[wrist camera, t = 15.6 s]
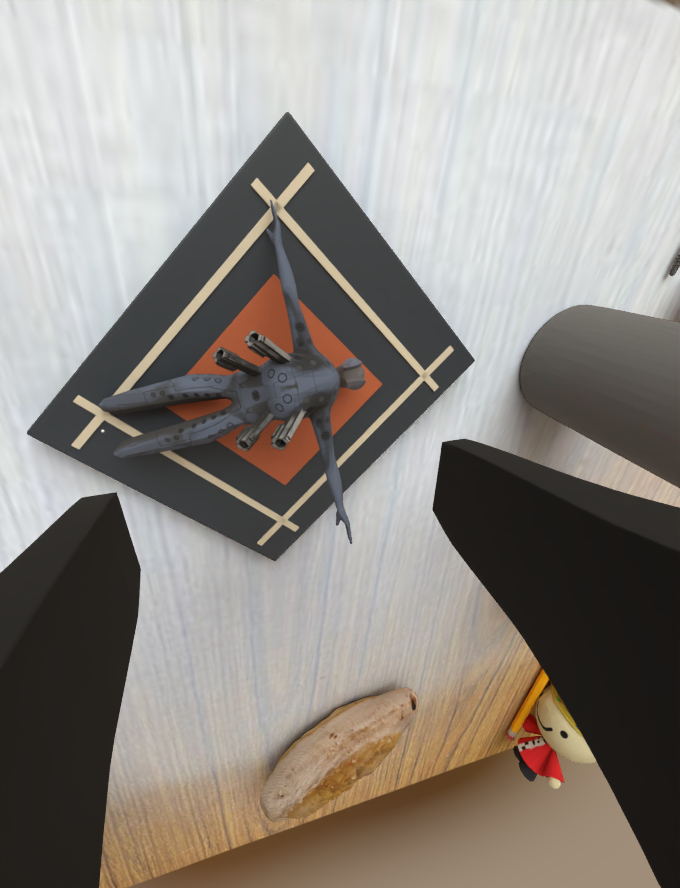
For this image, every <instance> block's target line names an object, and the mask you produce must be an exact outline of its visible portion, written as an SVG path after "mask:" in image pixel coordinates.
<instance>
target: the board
mask: <svg viewBox="0 0 680 888" xmlns="http://www.w3.org/2000/svg"><path fill="white" fill-rule="evenodd" d="M270 200H272V202H273V205H274V208H275V211H276V214H277V218H278V221H279V223H280V228H281V238H282V245H283V249H284V251H285V254H286V256H287V259H288V261H289V264H290V267H291V269H292V272H293V276H294V280H295V284H296V289H297V295H298V300H299V305H300V308H301V310H302V313H303V316H304V319H305V321H306V324H307V327H308V330H309V332H310V335H311V338H312V341H313V343H314V345H315V347H316V349H317V350H318V351H319V352H320V353H322V354H323V355H324V356H325V357H326V358H327V359H328V360H329V361H330V362H331V363H332V364H333V365H334V366H335V368H337V367H338V366H340V365H342V364H343V362H344V361H345V360H346V359H349V358H356V359H358V360H360V361H361V362H362V364H361V366H362V368H363V369H364V371H365V374H364V379H365V380H366V383H365V384H364V386H363V387H361V388H360V389H358V390H351V389H349V388H339V392H338V394H337V397H336V400H335V402H334V404H333V406H332V407H331V414H330V417H331V427H332V437H333V446H334V455H335V459H336V463H337V466H338V469H339V473H340V478H341V483H342V492H344V491H345V490H346V489H347V488H348V487H349V486H350V485H351V484H352V483H353V482H354V481H355V480H356V479H357V478H358V477H359V476H360V475H361V474H362V473H363V472H364V471H365V470H366V469H367V468H368V467H369V466H370V465H371V464H372V463H373V462H374V461H375V460H376V459H377V458H378V457H379V456H380V455H381V454H382V453H383V452H384V451H385V450H386V449H387V448H388V447H389V446H390V445H391V444H392V443H393V442H394V441H395V440H396V439H397V438H398V437H399V436H400V435H401V434H402V433H403V432H404V431H405V430H406V429H407V428H408V427H409V426H410V425H411V424H412V423H413V422H414V421H415V420H416V419H417V418H418V417H419V416H420V415H421V414H422V413H423V412H424V411H425V410H426V409H427V408H428V407H429V406H430V405H431V404H432V403H433V402H434V401H435V400H436V399H437V398H438V397H439V396H440V395H441V394H442V393H443V392H444V391H445V390H446V389H447V388H448V387H449V386H450V385H451V384H452V383H453V382H454V381H455V380H456V379H457V378H458V377H459V376H460V375H461V374H462V373H463V372H464V371H465V370H466V369H467V368H468V367H469V366H470V365H471V364H472V363H473V362H474V361H475V360H474V358H473V357H472V356H471V354H470V353H469V352H468V350H467V349H466V348H465V346H464V345H463V344H462V342H461V341H460V340H459V338H458V337H457V336H456V334H455V333H454V332H453V330H452V329H451V328H450V326H449V325H448V324H447V322H446V321H445V320H444V318H443V317H442V316H441V314H440V313H439V312H438V310H437V309H436V308H435V306H434V305H433V304H432V302H431V301H430V300H429V298H428V297H427V296H426V294H425V293H424V292H423V290H422V289H421V288H420V286H419V285H418V284H417V282H416V281H415V280H414V278H413V277H412V276H411V274H410V273H409V272H408V270H407V269H406V268H405V266H404V265H403V264H402V262H401V261H400V260H399V258H398V257H397V256H396V254H395V253H394V252H393V250H392V249H391V248H390V246H389V245H388V244H387V242H386V241H385V240H384V238H383V237H382V236H381V234H380V233H379V232H378V230H377V229H376V228H375V226H374V225H373V224H372V222H371V221H370V220H369V218H368V217H367V216H366V214H365V213H364V212H363V210H362V209H361V208H360V206H359V205H358V204H357V202H356V201H355V200H354V198H353V197H352V196H351V194H350V193H349V192H348V190H347V189H346V188H345V186H344V185H343V184H342V182H341V181H340V180H339V178H338V177H337V176H336V174H335V173H334V172H333V170H332V169H331V168H330V166H329V165H328V164H327V162H326V161H325V160H324V158H323V157H322V156H321V154H320V153H319V152H318V150H317V149H316V148H315V146H314V145H313V144H312V142H311V141H310V140H309V138H308V137H307V136H306V134H305V133H304V132H303V130H302V129H301V128H300V126H299V125H298V124H297V122H296V121H295V120H294V118H293V117H292V116H291V114H290V113H289V112H286V113H285V114H284V116H283V117H282V118H281V119H280V120H279V122H278V123H277V124H276V125H275V127H274V128H273V129H272V130H271V132H270V133H269V134H268V135H267V136H266V138H265V139H264V140H263V141H262V143H261V144H260V145H259V146H258V148H257V149H256V150H255V151H254V153H253V154H252V155H251V156H250V157H249V159H248V160H247V161H246V162H245V164H244V165H243V166H242V167H241V169H240V170H239V171H238V172H237V173H236V175H235V176H234V177H233V178H232V180H231V181H230V182H229V183H228V185H227V186H226V187H225V188H224V190H223V191H222V192H221V193H220V194H219V196H218V197H217V198H216V199H215V201H214V202H213V203H212V204H211V206H210V207H209V208H208V209H207V210H206V212H205V213H204V214H203V215H202V217H201V218H200V219H199V220H198V222H197V223H196V224H195V225H194V227H193V228H192V229H191V230H190V231H189V233H188V234H187V235H186V236H185V238H184V239H183V240H182V241H181V243H180V244H179V245H178V246H177V247H176V249H175V250H174V251H173V252H172V254H171V255H170V256H169V257H168V259H167V260H166V261H165V262H164V264H163V265H162V266H161V267H160V268H159V270H158V271H157V272H156V273H155V275H154V276H153V277H152V278H151V280H150V281H149V282H148V283H147V284H146V286H145V287H144V288H143V289H142V291H141V292H140V293H139V294H138V296H137V297H136V298H135V299H134V300H133V302H132V303H131V304H130V305H129V307H128V308H127V309H126V310H125V312H124V313H123V314H122V315H121V317H120V318H119V319H118V320H117V321H116V323H115V324H114V325H113V326H112V328H111V329H110V330H109V331H108V333H107V334H106V335H105V336H104V337H103V339H102V340H101V341H100V342H99V344H98V345H97V346H96V347H95V349H94V350H93V351H92V352H91V354H90V355H89V356H88V357H87V358H86V360H85V361H84V362H83V363H82V365H81V366H80V367H79V368H78V370H77V371H76V372H75V373H74V374H73V376H72V377H71V378H70V379H69V381H68V382H67V383H66V384H65V386H64V387H63V388H62V389H61V391H60V392H59V393H58V394H57V395H56V397H55V398H54V399H53V400H52V402H51V403H50V404H49V405H48V407H47V408H46V409H45V410H44V411H43V413H42V414H41V415H40V416H39V418H38V419H37V420H36V421H35V423H34V424H33V425H32V426H31V428H30V429H29V430H28V431H27V434H28V435H30V436H32V437H34V438H36V439H38V440H39V441H41V442H43V443H45V444H47V445H49V446H51V447H53V448H55V449H57V450H59V451H61V452H63V453H65V454H67V455H69V456H71V457H73V458H75V459H77V460H79V461H80V462H82V463H84V464H86V465H88V466H90V467H92V468H94V469H96V470H98V471H100V472H102V473H104V474H106V475H108V476H110V477H112V478H114V479H116V480H118V481H119V482H121V483H123V484H125V485H127V486H129V487H131V488H133V489H135V490H137V491H139V492H141V493H143V494H145V495H147V496H149V497H151V498H153V499H155V500H157V501H159V502H160V503H162V504H164V505H166V506H168V507H170V508H172V509H174V510H176V511H178V512H180V513H182V514H184V515H186V516H188V517H190V518H192V519H194V520H196V521H198V522H199V523H201V524H203V525H205V526H207V527H209V528H211V529H213V530H215V531H217V532H219V533H221V534H223V535H225V536H227V537H229V538H231V539H233V540H235V541H237V542H239V543H240V544H242V545H244V546H246V547H248V548H250V549H252V550H254V551H256V552H258V553H260V554H262V555H264V556H266V557H268V558H270V559H272V560H274V561H276V560H277V559H278V558H279V557H280V556H281V555H282V554H283V553H284V552H285V551H286V550H287V549H288V548H289V547H290V546H291V545H292V544H293V543H294V542H295V541H296V540H297V539H298V538H299V537H300V536H301V535H302V534H303V533H304V532H305V531H306V530H307V529H308V528H309V527H310V526H311V525H312V524H313V523H314V522H315V521H316V520H317V519H318V518H319V517H320V516H321V515H322V514H323V513H324V512H325V511H326V510H327V509H328V508H329V507H330V506H331V505H332V504H333V502H334V498H333V495H332V492H331V489H330V486H329V484H328V480H327V477H326V474H325V469H324V464H323V460H322V456H321V452H320V449H319V445H318V442H317V439H316V436H315V432H314V429H313V426H312V424H311V421H310V418H305V419H302V420H301V422H300V424H299V426H298V428H297V430H296V431H295V433H294V435H293V437H292V439H291V441H290V442H289V443H288V444H287V445H286V447H285V449H284V450H283V451H282V450H278V448H276V449H274V448H273V447H272V446H271V443H272V442H271V441H272V439H271V436H272V435H273V433H274V431H275V430H276V428H277V426H278V425H279V424H284V422H285V421H280V420H273V421H272V422H270V423H269V424H268V425H267V427H266V428H265V429H264V430H263V431H262V433H261V434H260V437H259V439H258V440H257V441H256V443H255V444H254V445H253V446H252V447H251V449H250V450H249V451H243V449H239V448H238V447H237V446H236V445H237V443H236V437H237V436H238V435H239V434H240V432H241V431H242V430H243V429H244V428H245V427H246V426H247V425H248V424H246V425H242V426H239V427H238V428H236V429H235V430H233V431H232V432H230V433H228V434H227V435H225V436H223V437H221V438H219V439H216V440H214V441H212V442H210V443H206V444H201V445H196V446H191V447H185V448H180V449H175V450H170V451H164V452H159V453H154V454H149V455H142V456H135V457H128V458H120V457H118V456H115V455H114V449H115V447H117V446H118V445H119V444H120V443H121V442H123V441H124V440H126V439H129V438H132V437H135V436H138V435H142V434H145V433H149V432H152V431H155V430H159V429H162V428H165V427H169V426H172V425H176V424H179V423H182V422H186V421H189V420H192V419H195V418H198V417H201V416H204V415H207V414H210V413H213V412H216V411H219V410H222V409H224V408H226V407H228V406H230V405H231V403H232V401H231V400H229V399H218V400H210V401H203V402H195V403H188V404H181V405H174V406H168V407H162V408H155V409H149V410H143V411H136V412H130V413H123V414H113V413H108V412H104V411H102V409H101V408H100V407H99V406H98V405H99V404H100V403H101V401H102V400H103V399H105V398H108V397H111V396H114V395H117V394H120V393H123V392H126V391H129V390H133V389H137V388H141V387H144V386H148V385H152V384H155V383H159V382H163V381H166V380H170V379H174V378H178V377H182V376H185V375H189V374H216V375H231V374H234V373H236V372H238V371H240V370H238V369H237V370H236V371H234V372H232V371H229V370H227V369H225V368H222V367H220V366H218V365H217V364H216V363H215V361H214V358H212V357H213V353H214V352H217V351H216V349H218V348H219V347H223V348H225V349H227V350H229V351H231V352H233V353H235V354H237V355H238V356H239V357H240V358H242V359H244V360H246V361H248V362H251V363H253V364H255V365H257V366H261V365H263V364H264V363H265V362H266V361H268V360H269V359H270V358H268V357H267V356H266V357H264V358H262V357H260V356H259V355H257V354H256V353H254V352H253V351H251V350H250V349H249V348H248V347H247V346H248V345H247V344H246V342H244V340H245V336H246V335H249V332H251V331H252V330H254V331H256V332H257V333H259V334H263V335H264V336H265V337H267V338H268V339H269V340H270V341H272V342H273V343H274V344H276V345H277V346H278V347H280V348H281V349H282V350H284V351H285V352H286V353H292V352H293V343H292V336H291V330H290V324H289V319H288V314H287V309H286V304H285V300H284V297H283V293H282V289H281V283H280V278H279V270H278V262H277V256H276V249H275V245H274V244H273V243H272V241H271V239H270V237H269V235H268V233H267V232H266V229H269V230H270V231H271V232H272V233H273V231H274V228H275V223H274V219H273V215H272V211H271V203H270ZM248 426H249V425H248ZM251 426H252V425H251ZM101 430H105V432H101Z"/></svg>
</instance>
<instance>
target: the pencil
mask: <svg viewBox="0 0 680 888" xmlns="http://www.w3.org/2000/svg"><path fill="white" fill-rule="evenodd" d="M548 680H549V678H548V676H547V675H546V673H545V671H544V670H543V669H542V671H541V673H540V675H539V676H538V678H537V680H536V682H535V683H534V685H533V687H532V689H531V691H530V692H529V694H528V696H527V698H526V700H525V701H524V703H523V705H522V707H521V708H520V710H519V712H518V714H517V716H516V717H515V719H514V721H513V723H512V725H511V726H510V728H509V730H508V732H507V733H506V736H507V739H509V740H510V741H512V740H514V739H515V737H516V735H517V733H518V732H519V730H520V728H521V726H522V725H523V723H524V721H525V720H526V718H527V716H528V714H529V713H530V711H531V709H532V707H533V706H534V704H535V702H536V701H537V699H538V697H539V695H540V694H541V692H542V690H543V689H544V687H545V685H546V683H547V682H548Z"/></svg>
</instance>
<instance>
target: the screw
mask: <svg viewBox="0 0 680 888" xmlns="http://www.w3.org/2000/svg"><path fill="white" fill-rule="evenodd" d="M676 259H677V260H676V261H675V263H674V265H673V267H672V269H671V271H670V273H669V275H670V276H673V275H675V273H676V272H677V270H678V268H679V266H680V254H679V255H678V258H676Z"/></svg>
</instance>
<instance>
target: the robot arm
mask: <svg viewBox="0 0 680 888" xmlns="http://www.w3.org/2000/svg"><path fill="white" fill-rule="evenodd" d="M433 512H434V513H435V515H436V517H437V519H438V521H439V523H440V525H441V526H442V528H443V530H444V532H445V533H446V535H447V537H448V538H449V540H450V542H451V543H452V545H453V546H454V547H455V549H456V550H457V551H458V553H459V554H460V555H461V557H462V558H463V559H464V561H465V562H466V563H467V565H468V566H469V567H470V569H471V570H472V571H473V572H474V574H475V575H476V576H477V578H478V579H479V580H480V581H481V583H482V584H483V585H484V587H485V588H486V589H487V590H488V592H489V593H490V594H491V596H492V597H493V598H494V599H495V601H496V602H497V603H498V604H499V606H500V607H501V608H502V610H503V611H504V612H505V613H506V615H507V616H508V617H509V619H510V620H511V621H512V623H513V624H514V626H515V627H516V628H517V630H518V631H519V633H520V634H521V635H522V637H523V638H524V640H525V641H526V643H527V645H528V646H529V648H530V649H531V651H532V652H533V654H534V656H535V657H536V659H537V660H538V662H539V664H540V665H541V667H542V668H543V670H544V671H545V673H546V675H547V676H548V678H549V679H550V681H551V683H552V684H553V686H554V688H555V690H556V691H557V693H558V695H559V696H560V698H561V700H562V701H563V703H564V705H565V706H566V708H567V710H568V711H569V713H570V715H571V717H572V718H573V720H574V722H575V723H576V725H577V727H578V729H579V730H580V732H581V734H582V736H583V738H584V739H585V741H586V743H587V745H588V747H589V749H590V750H591V752H592V754H593V756H594V758H595V759H596V761H597V763H598V765H599V767H600V768H601V770H602V772H603V774H604V776H605V778H606V779H607V781H608V783H609V785H610V787H611V789H612V791H613V793H614V794H615V797H616V798H617V801H618V803H619V805H620V806H621V809H622V811H623V812H624V814H625V816H626V818H627V820H628V822H629V824H630V826H631V828H632V830H633V832H634V834H635V836H636V838H637V840H638V842H639V844H640V846H641V848H642V850H643V852H644V854H645V856H646V858H647V860H648V863H649V865H650V867H651V869H652V871H653V873H654V875H655V877H656V879H657V881H658V883H659V885H660V886H661V888H680V508H679V507H674V506H671V505H667V504H663V503H659V502H656V501H652V500H648V499H644V498H641V497H637V496H633V495H630V494H626V493H623V492H620V491H616V490H613V489H610V488H607V487H604V486H601V485H598V484H594V483H591V482H588V481H585V480H582V479H579V478H576V477H573V476H571V475H568V474H565V473H562V472H559V471H556V470H554V469H551V468H548V467H545V466H543V465H540V464H537V463H535V462H532V461H529V460H527V459H524V458H521V457H518V456H516V455H513V454H510V453H508V452H505V451H502V450H499V449H497V448H494V447H491V446H488V445H485V444H482V443H479V442H475V441H471V440H467V439H459V440H453V441H446V442H442V448H441V455H440V461H439V468H438V475H437V482H436V489H435V496H434V503H433ZM140 572H141V569H140V565H139V562H138V559H137V556H136V553H135V550H134V546H133V543H132V540H131V537H130V534H129V530H128V527H127V524H126V521H125V518H124V515H123V511H122V508H121V505H120V502H119V499H118V496H117V492H116V493H109V494H103V495H96V496H90V497H83V498H81V499H80V500H78V501H77V502H76V503H75V504H74V505H73V506H72V507H70V508H69V509H68V510H67V511H66V512H65V513H64V514H63V515H62V516H61V517H60V518H59V519H58V520H57V521H55V522H54V523H53V524H52V525H51V526H50V527H49V528H48V529H47V530H46V531H45V532H44V533H43V534H42V535H41V536H40V537H39V538H38V539H37V540H36V541H34V542H33V543H32V544H31V545H30V546H29V547H28V548H27V549H26V550H25V551H24V552H23V553H22V554H20V555H19V556H18V557H17V558H16V559H15V560H14V561H13V562H12V563H11V564H10V565H9V566H8V567H7V568H5V569H4V570H3V571H2V572H1V573H0V888H99V881H100V869H101V856H102V844H103V833H104V823H105V813H106V802H107V792H108V782H109V772H110V764H111V758H112V751H113V745H114V738H115V733H116V728H117V722H118V717H119V712H120V707H121V702H122V697H123V692H124V687H125V682H126V676H127V671H128V666H129V661H130V656H131V651H132V645H133V640H134V635H135V629H136V624H137V618H138V608H139V593H140Z"/></svg>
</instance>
